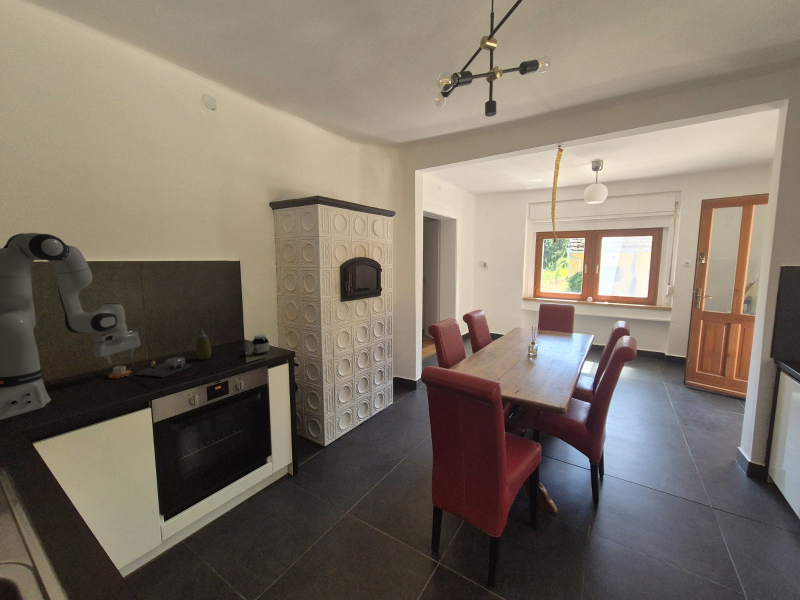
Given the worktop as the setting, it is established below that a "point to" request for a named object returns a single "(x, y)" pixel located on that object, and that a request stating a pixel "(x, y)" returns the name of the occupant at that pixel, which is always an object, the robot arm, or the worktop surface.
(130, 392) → the worktop surface
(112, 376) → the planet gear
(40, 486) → the worktop surface
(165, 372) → the carrier
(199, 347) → the squeeze bottle
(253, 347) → the spread jar
